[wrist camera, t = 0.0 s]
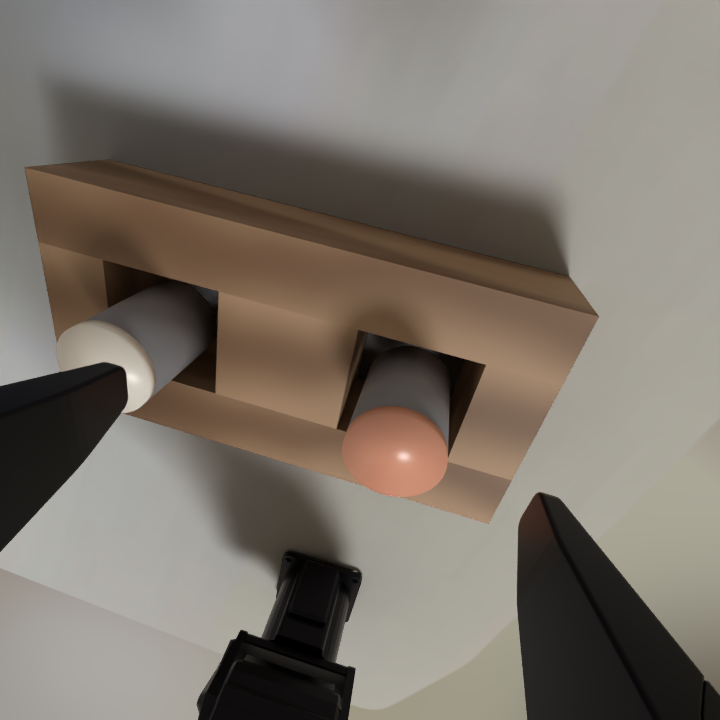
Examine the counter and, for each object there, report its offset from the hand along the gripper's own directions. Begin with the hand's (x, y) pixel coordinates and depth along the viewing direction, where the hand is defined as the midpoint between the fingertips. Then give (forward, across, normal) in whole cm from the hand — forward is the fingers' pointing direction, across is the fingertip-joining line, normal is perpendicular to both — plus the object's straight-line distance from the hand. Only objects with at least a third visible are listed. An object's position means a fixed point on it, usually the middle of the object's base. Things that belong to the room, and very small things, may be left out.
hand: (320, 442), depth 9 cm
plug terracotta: (+11, -2, +5) cm, 12 cm away
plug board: (+15, +4, +5) cm, 16 cm away
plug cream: (+11, +10, +5) cm, 16 cm away
